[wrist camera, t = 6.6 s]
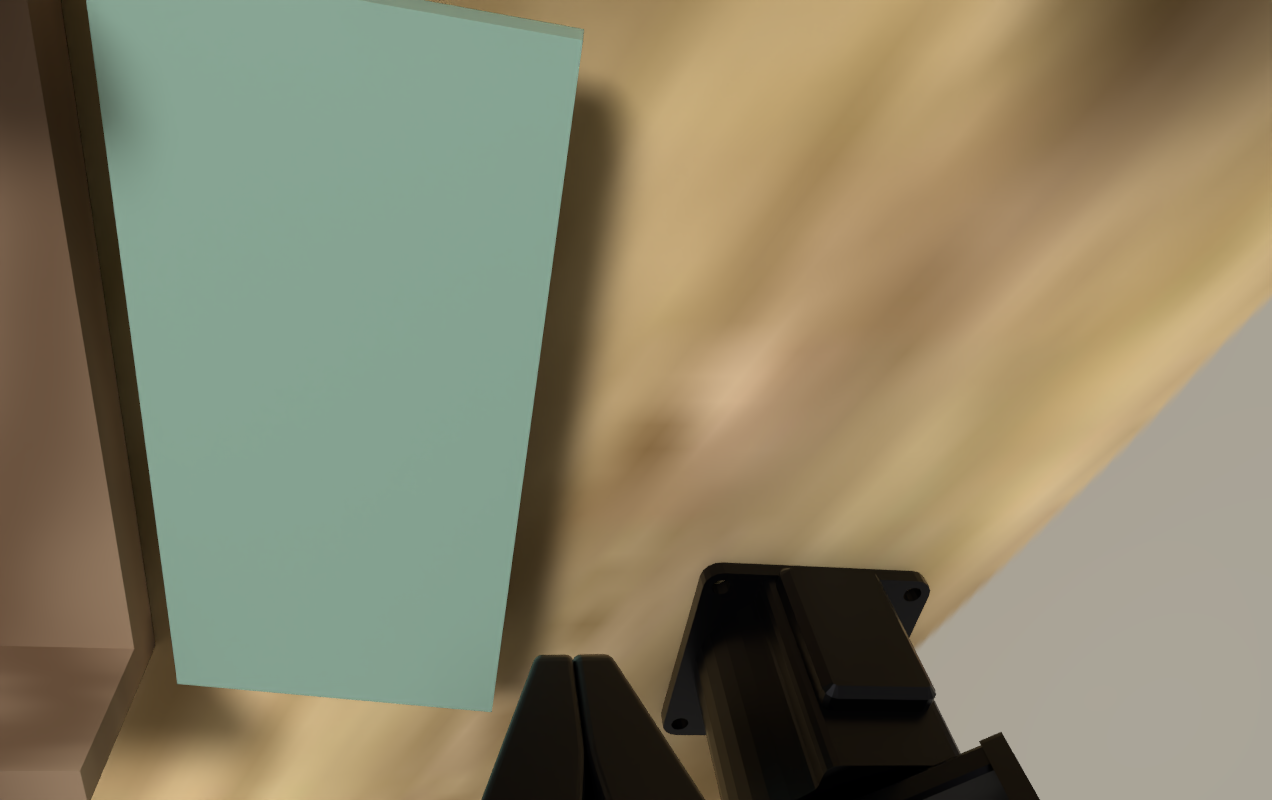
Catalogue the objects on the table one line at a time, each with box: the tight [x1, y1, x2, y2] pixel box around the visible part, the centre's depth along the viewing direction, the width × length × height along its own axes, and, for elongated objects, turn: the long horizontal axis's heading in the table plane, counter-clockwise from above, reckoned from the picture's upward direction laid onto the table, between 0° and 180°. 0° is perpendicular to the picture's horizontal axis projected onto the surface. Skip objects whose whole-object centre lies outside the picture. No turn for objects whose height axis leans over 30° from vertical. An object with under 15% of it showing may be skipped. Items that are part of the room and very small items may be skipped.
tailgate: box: [86, 0, 584, 712], centre depth 18 cm, size 1×16×8 cm
